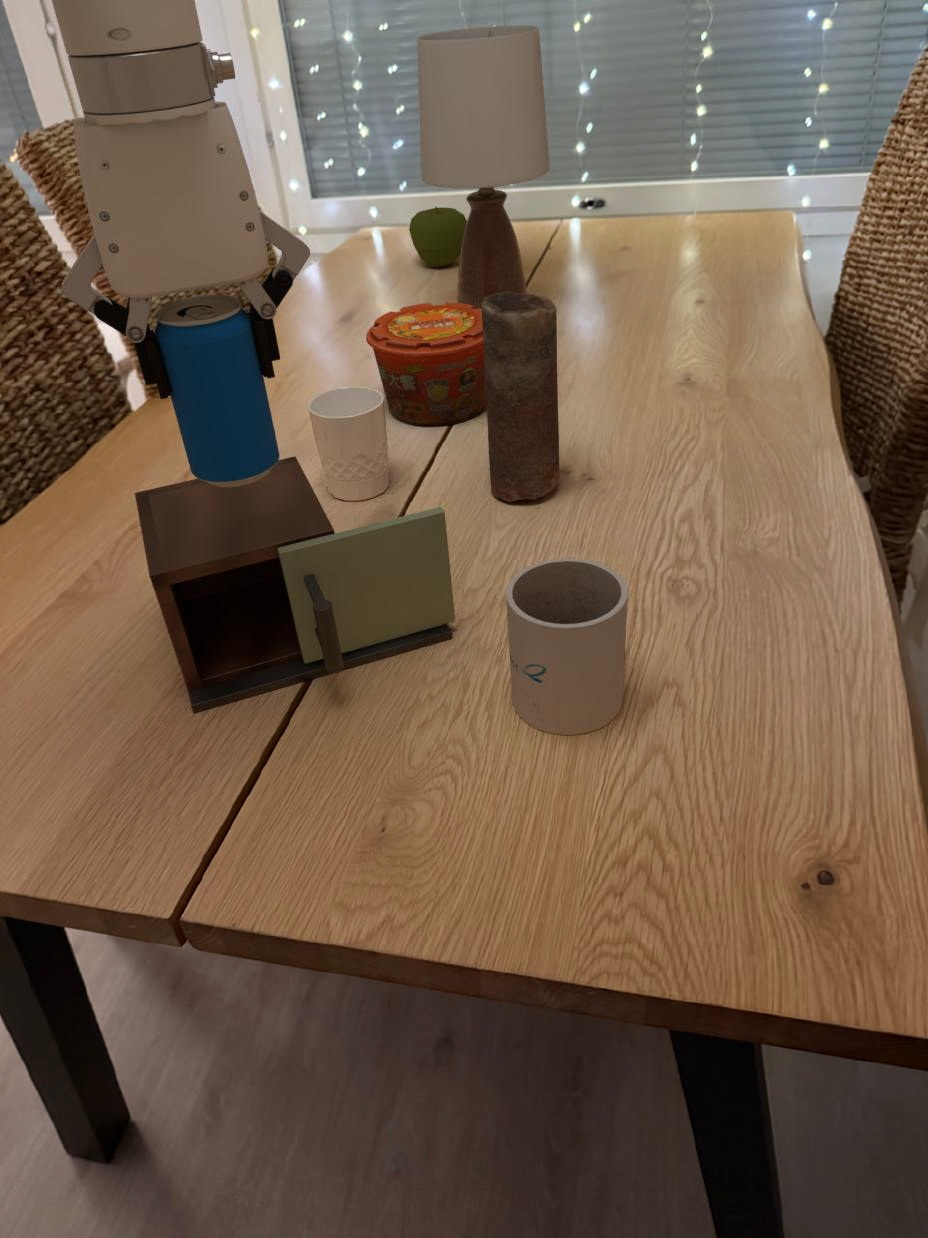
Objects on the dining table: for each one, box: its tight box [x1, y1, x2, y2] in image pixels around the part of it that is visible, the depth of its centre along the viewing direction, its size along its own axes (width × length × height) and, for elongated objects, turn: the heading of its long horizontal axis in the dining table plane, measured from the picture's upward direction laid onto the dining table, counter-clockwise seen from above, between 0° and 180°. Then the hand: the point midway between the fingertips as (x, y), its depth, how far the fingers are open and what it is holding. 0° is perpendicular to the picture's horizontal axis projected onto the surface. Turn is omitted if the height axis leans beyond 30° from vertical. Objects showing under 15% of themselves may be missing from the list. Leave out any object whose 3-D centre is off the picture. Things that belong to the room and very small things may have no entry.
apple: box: [408, 206, 468, 268], centre depth 164 cm, size 11×10×10 cm
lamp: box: [416, 24, 550, 309], centre depth 135 cm, size 19×19×37 cm
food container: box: [365, 301, 487, 427], centre depth 114 cm, size 16×16×11 cm
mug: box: [505, 557, 629, 736], centre depth 70 cm, size 12×9×10 cm
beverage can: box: [154, 294, 280, 487], centre depth 64 cm, size 6×6×12 cm
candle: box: [481, 292, 560, 503], centre depth 92 cm, size 8×7×20 cm
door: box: [277, 506, 456, 674], centre depth 72 cm, size 13×6×11 cm, turn 111°
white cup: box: [307, 385, 390, 502], centre depth 98 cm, size 8×8×10 cm
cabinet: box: [134, 455, 453, 714], centre depth 78 cm, size 22×16×12 cm
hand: (215, 379), depth 64 cm, fingers closed on beverage can, 6 cm apart
